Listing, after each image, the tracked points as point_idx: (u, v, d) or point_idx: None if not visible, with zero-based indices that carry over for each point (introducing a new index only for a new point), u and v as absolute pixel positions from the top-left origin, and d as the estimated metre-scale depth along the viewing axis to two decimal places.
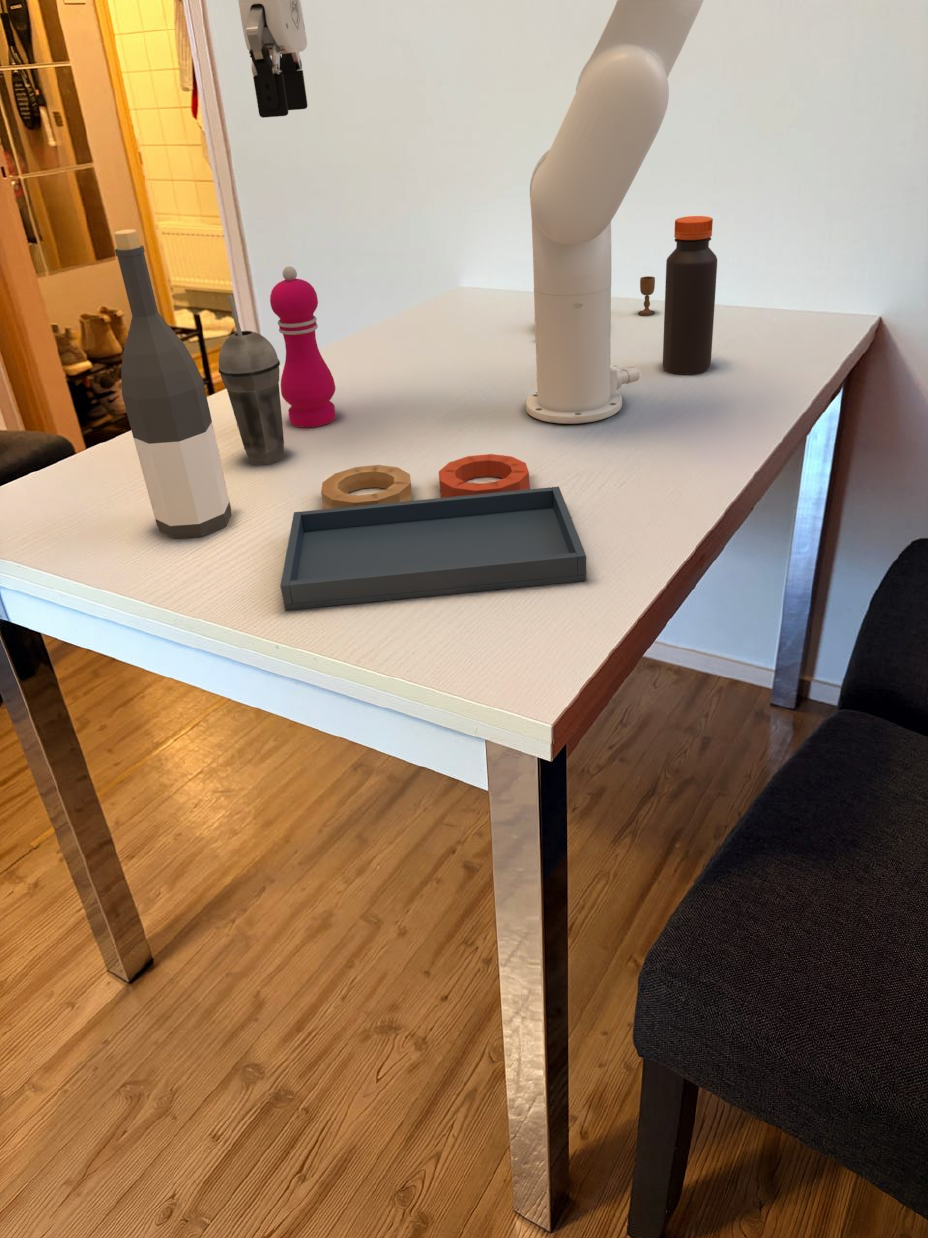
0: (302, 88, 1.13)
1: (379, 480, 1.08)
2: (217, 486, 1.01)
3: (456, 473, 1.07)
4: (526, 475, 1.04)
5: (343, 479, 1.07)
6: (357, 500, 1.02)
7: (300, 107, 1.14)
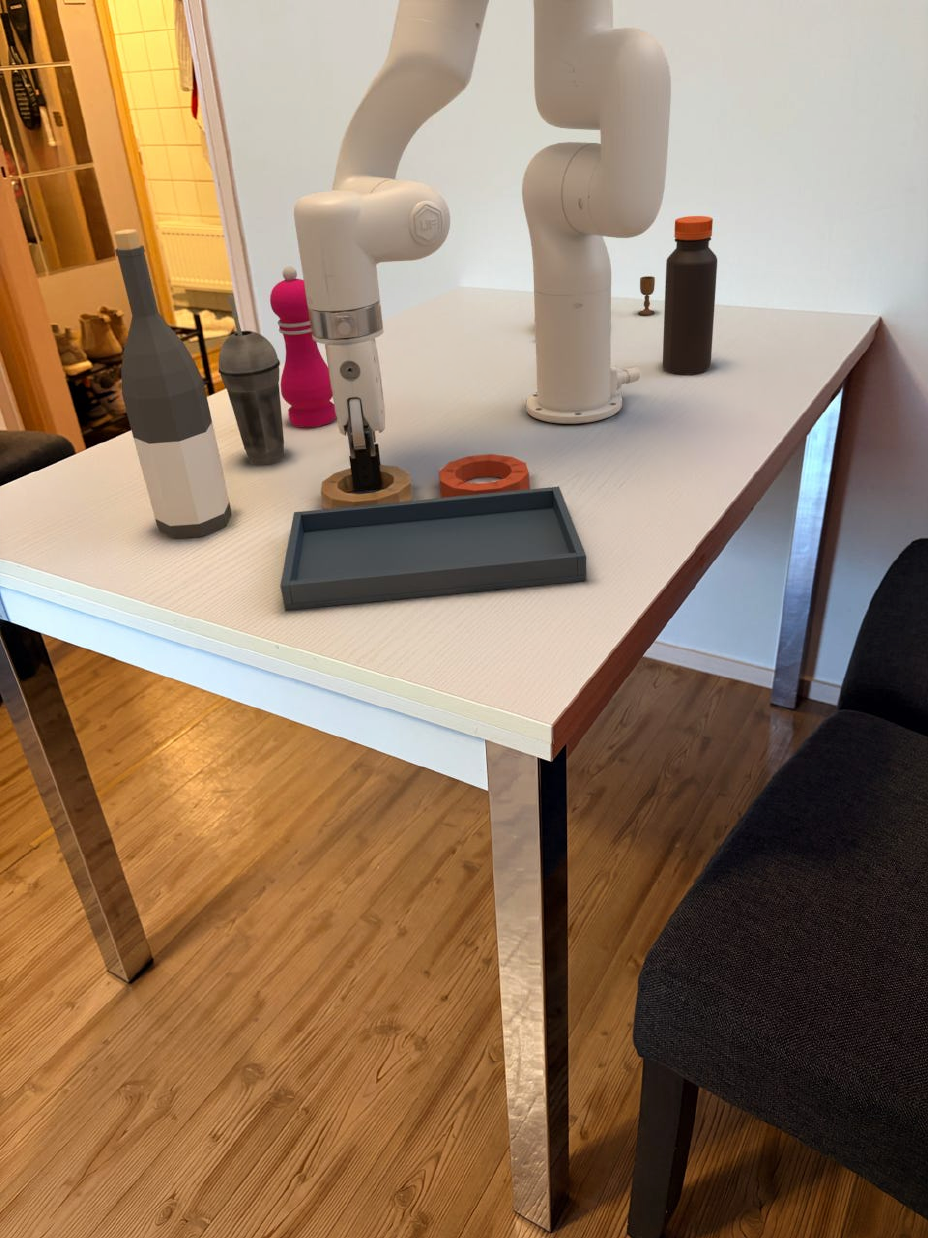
0: None
1: None
2: (217, 486, 1.01)
3: (456, 473, 1.07)
4: (526, 475, 1.04)
5: (343, 478, 1.07)
6: (357, 499, 1.02)
7: None
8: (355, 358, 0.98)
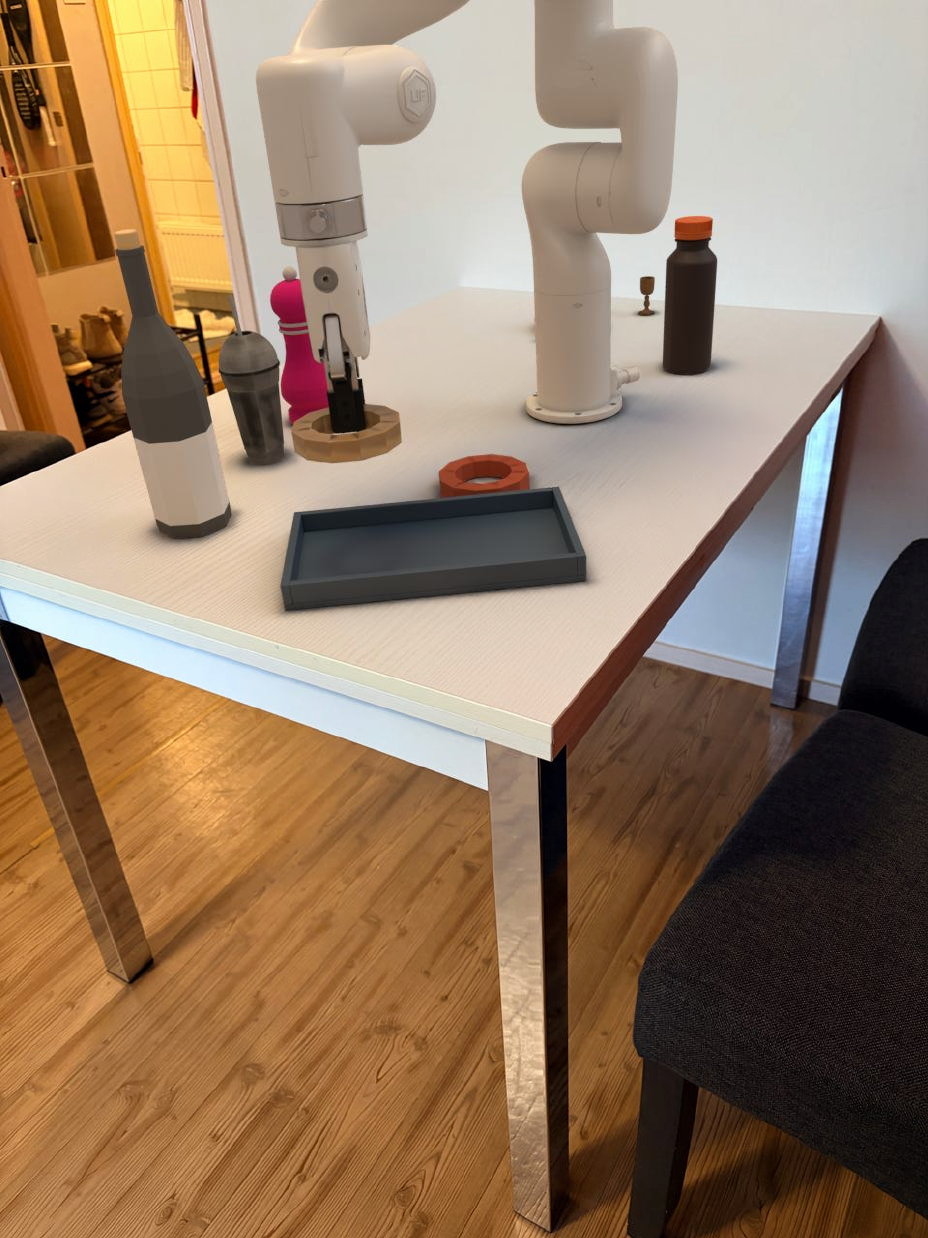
0: None
1: None
2: (217, 486, 1.01)
3: (456, 473, 1.07)
4: (526, 475, 1.04)
5: (319, 418, 0.89)
6: (334, 440, 0.84)
7: None
8: (332, 263, 0.79)
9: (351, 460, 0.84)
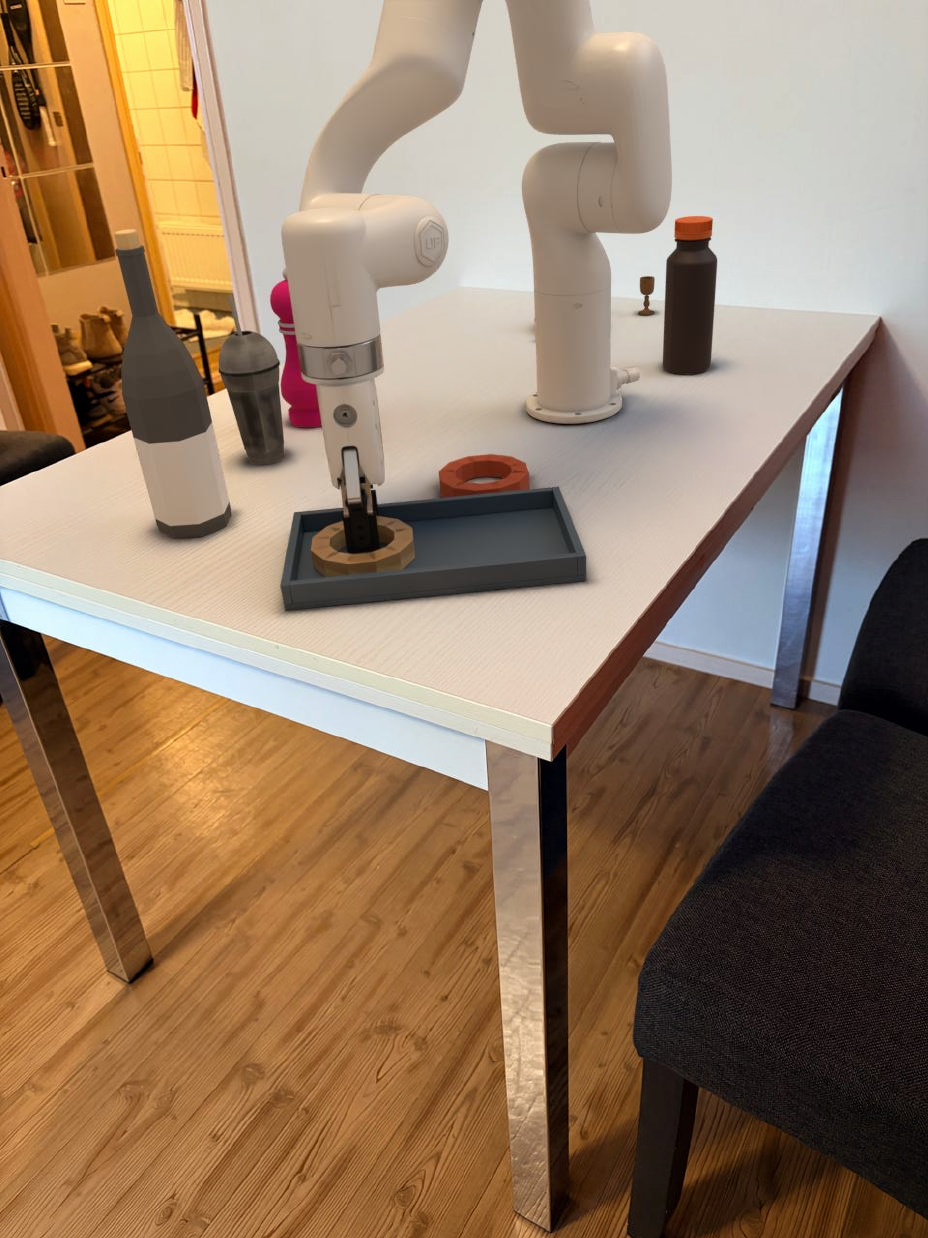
0: (375, 509, 0.97)
1: None
2: (217, 486, 1.01)
3: (456, 473, 1.07)
4: (526, 475, 1.04)
5: (336, 534, 0.94)
6: (352, 561, 0.89)
7: None
8: (351, 401, 0.84)
9: None
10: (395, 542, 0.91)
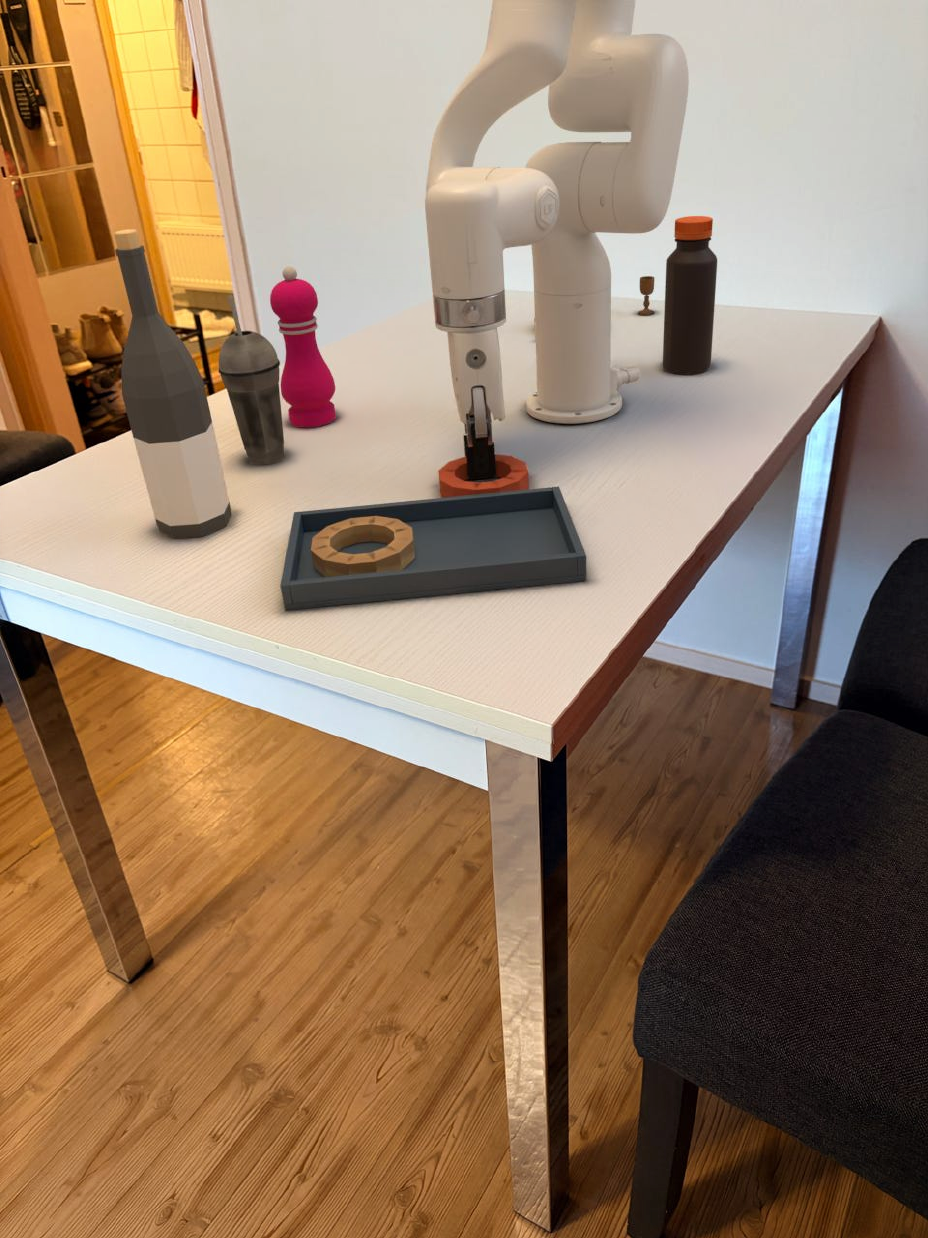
0: None
1: (377, 534, 0.95)
2: (217, 486, 1.01)
3: (456, 472, 1.07)
4: (526, 474, 1.05)
5: (336, 534, 0.94)
6: (352, 561, 0.89)
7: None
8: (482, 346, 0.98)
9: None
10: (395, 542, 0.91)
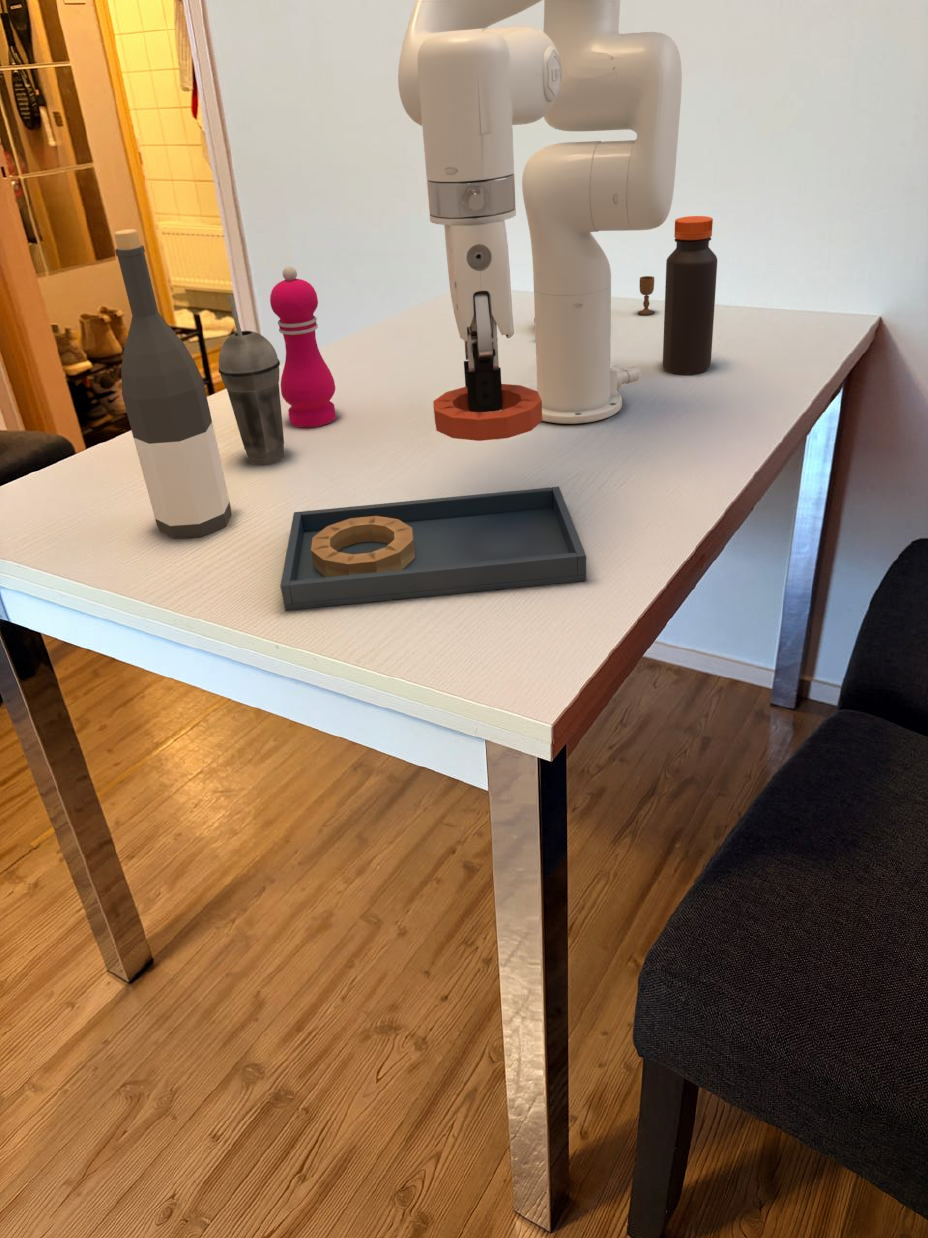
0: None
1: (377, 534, 0.95)
2: (217, 486, 1.01)
3: (454, 403, 0.89)
4: (538, 404, 0.87)
5: (336, 534, 0.94)
6: (352, 561, 0.89)
7: None
8: (486, 241, 0.80)
9: None
10: (395, 542, 0.91)
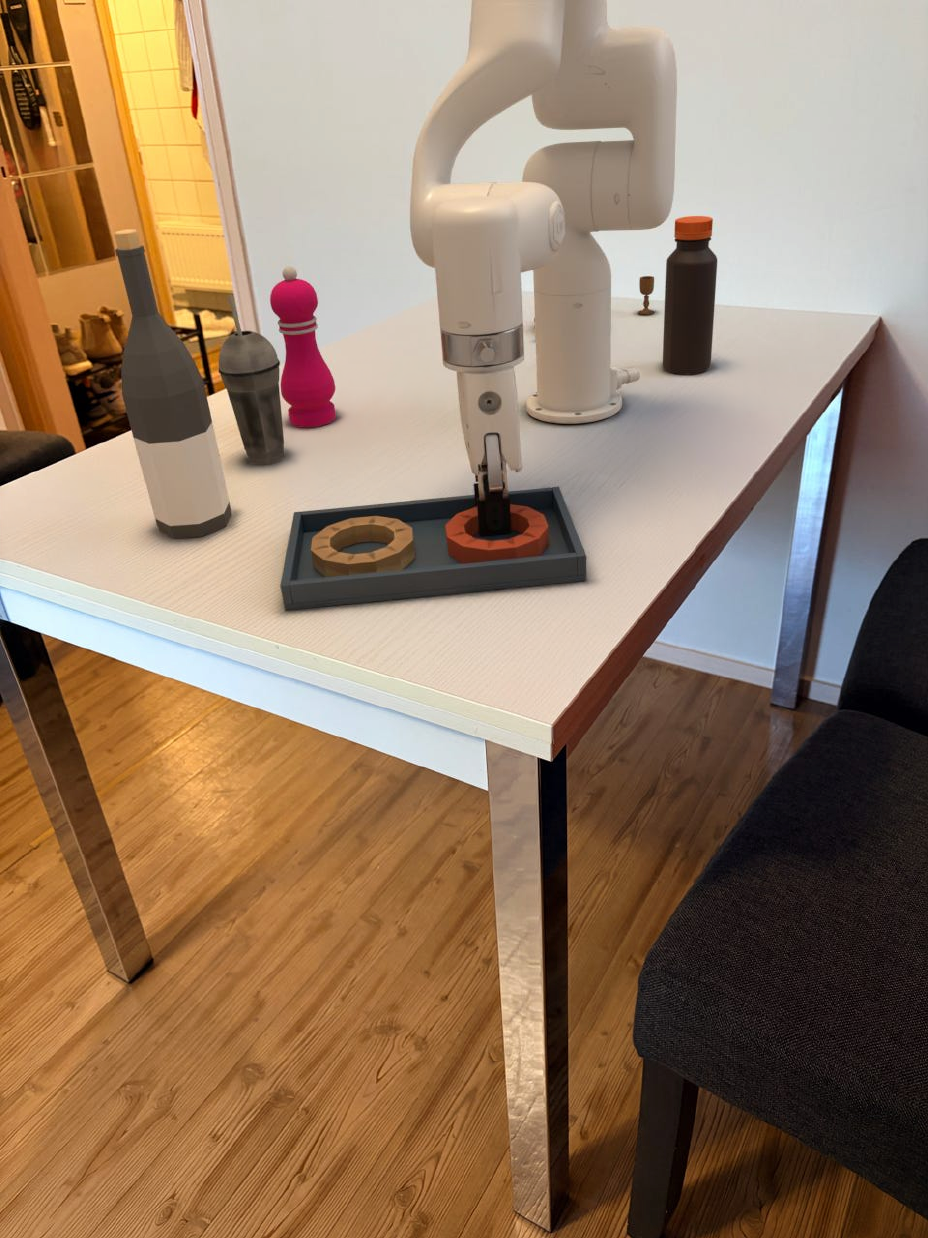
0: None
1: (377, 534, 0.95)
2: (217, 486, 1.01)
3: (465, 527, 0.94)
4: (546, 530, 0.91)
5: (336, 534, 0.94)
6: (352, 561, 0.89)
7: None
8: (497, 388, 0.85)
9: None
10: (395, 542, 0.91)
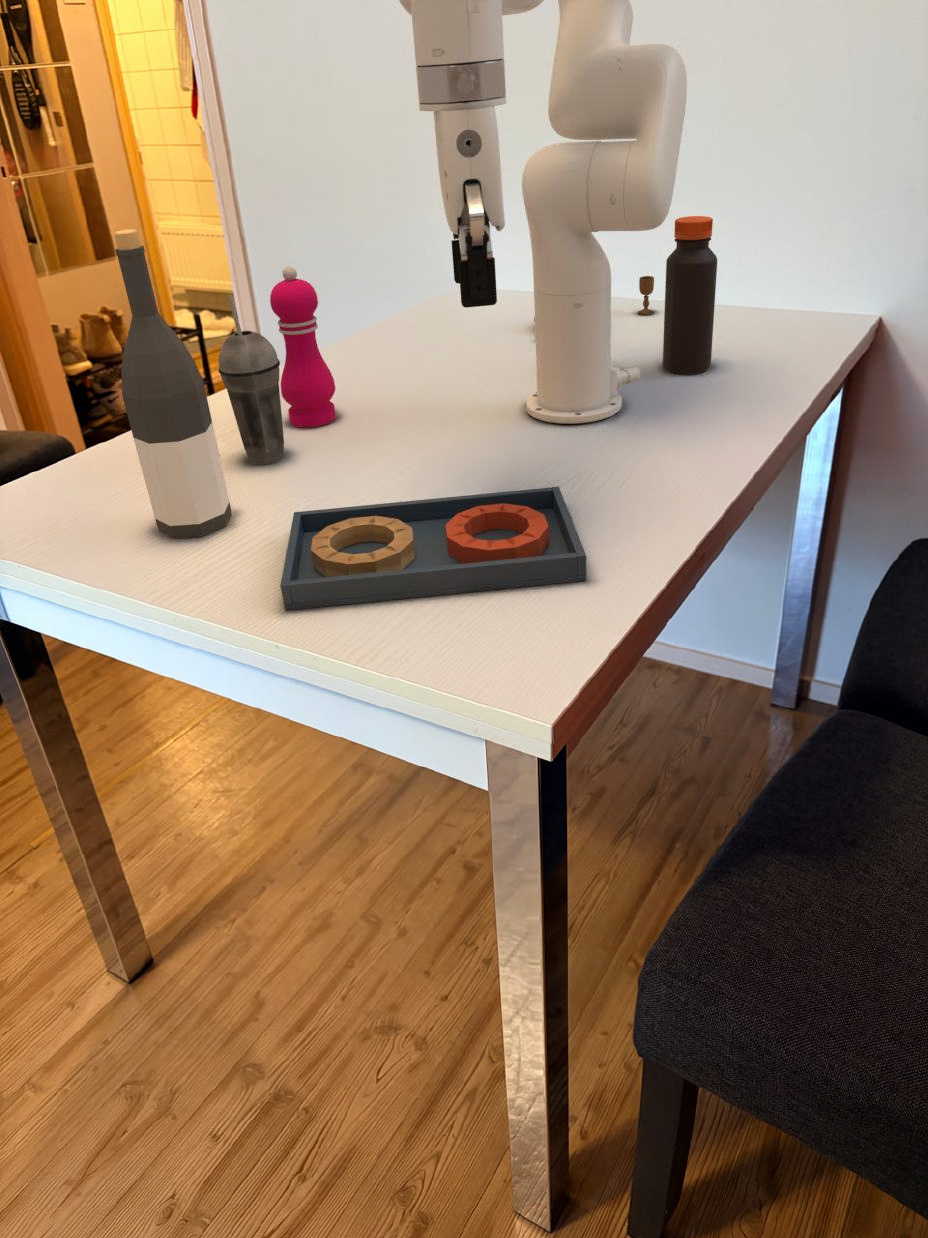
0: None
1: (377, 534, 0.95)
2: (217, 486, 1.01)
3: (465, 527, 0.94)
4: (546, 530, 0.91)
5: (336, 534, 0.94)
6: (352, 561, 0.89)
7: None
8: (476, 126, 0.79)
9: None
10: (395, 542, 0.91)
